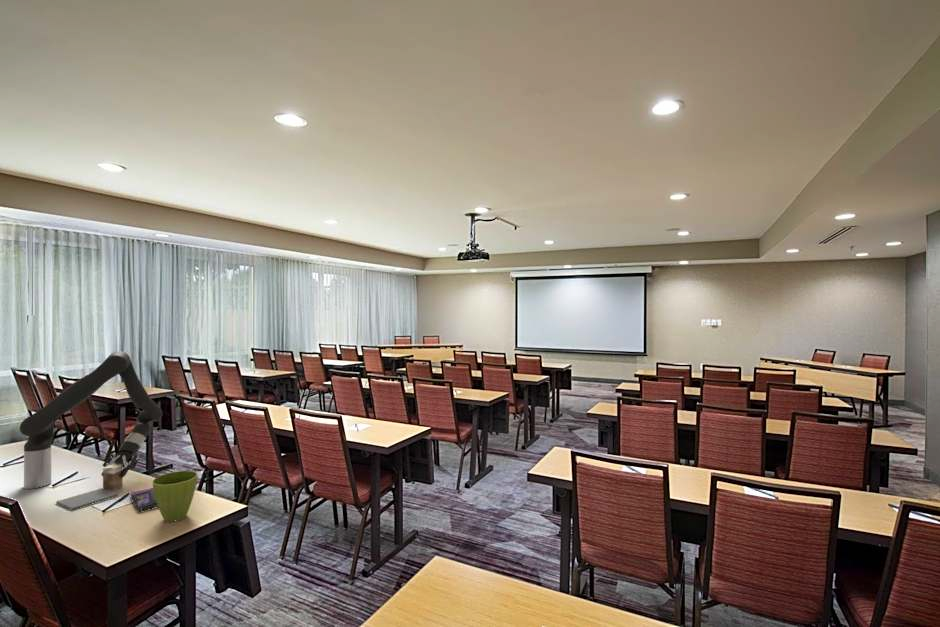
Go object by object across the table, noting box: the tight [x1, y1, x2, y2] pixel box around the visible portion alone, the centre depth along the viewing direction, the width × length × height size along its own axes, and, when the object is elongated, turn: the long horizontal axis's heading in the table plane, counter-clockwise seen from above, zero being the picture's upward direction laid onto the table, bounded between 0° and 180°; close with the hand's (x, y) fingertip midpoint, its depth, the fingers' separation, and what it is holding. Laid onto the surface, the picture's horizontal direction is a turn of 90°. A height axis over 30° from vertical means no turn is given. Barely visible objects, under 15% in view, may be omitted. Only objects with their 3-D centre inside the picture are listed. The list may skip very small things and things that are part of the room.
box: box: [129, 487, 158, 513], centre depth 193 cm, size 14×4×20 cm
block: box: [102, 464, 124, 491], centre depth 207 cm, size 5×5×10 cm
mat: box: [55, 487, 118, 511], centre depth 193 cm, size 14×16×1 cm
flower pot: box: [152, 470, 199, 522], centre depth 177 cm, size 15×15×16 cm
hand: (112, 476), depth 206 cm, fingers open, 8 cm apart
